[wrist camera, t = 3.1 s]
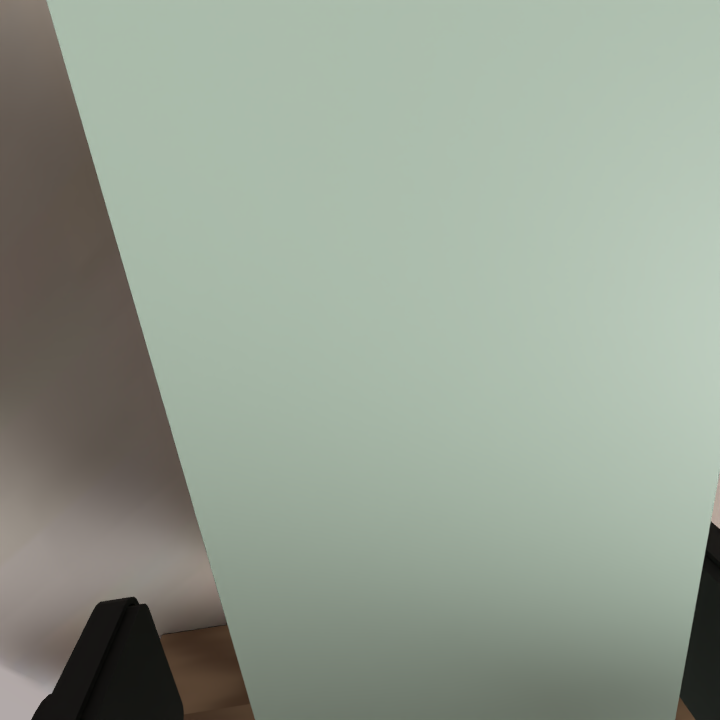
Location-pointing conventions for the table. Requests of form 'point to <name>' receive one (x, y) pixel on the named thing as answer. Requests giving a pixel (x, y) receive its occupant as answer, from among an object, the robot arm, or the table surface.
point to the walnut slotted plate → (225, 676)
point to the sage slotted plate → (428, 333)
